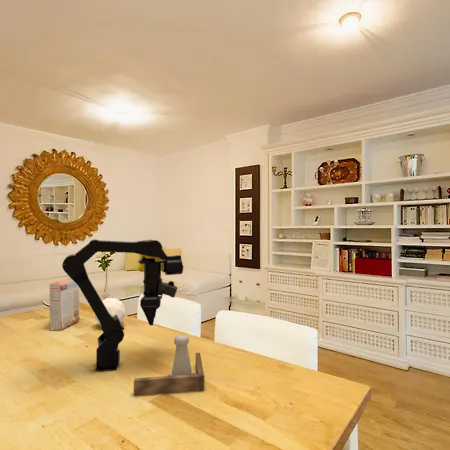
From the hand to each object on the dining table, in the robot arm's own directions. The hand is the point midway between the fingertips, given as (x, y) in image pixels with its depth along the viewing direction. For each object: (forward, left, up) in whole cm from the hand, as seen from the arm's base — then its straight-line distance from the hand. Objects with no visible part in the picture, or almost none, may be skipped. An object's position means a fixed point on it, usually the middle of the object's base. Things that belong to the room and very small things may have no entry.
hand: (152, 321), depth 110 cm
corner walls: (+6, -15, -13) cm, 21 cm away
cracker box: (-43, +44, -13) cm, 63 cm away
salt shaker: (+10, -18, -13) cm, 24 cm away
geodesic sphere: (-22, +40, -13) cm, 48 cm away
